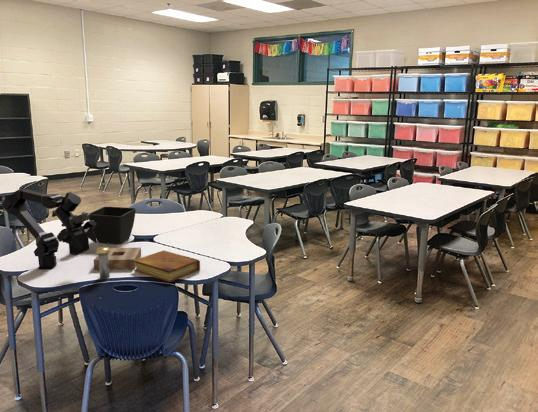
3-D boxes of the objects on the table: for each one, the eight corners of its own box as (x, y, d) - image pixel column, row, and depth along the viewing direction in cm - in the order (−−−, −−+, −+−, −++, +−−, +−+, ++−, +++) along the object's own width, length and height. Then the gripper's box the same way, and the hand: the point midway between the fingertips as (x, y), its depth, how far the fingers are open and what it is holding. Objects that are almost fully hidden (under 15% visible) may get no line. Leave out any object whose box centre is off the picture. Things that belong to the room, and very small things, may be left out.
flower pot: (122, 246, 243) (120, 215, 239) (89, 244, 246) (86, 213, 242) (137, 236, 261) (136, 208, 258) (106, 235, 264) (104, 206, 261)
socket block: (94, 269, 209) (93, 260, 208) (103, 256, 227) (103, 248, 226) (134, 268, 211) (134, 259, 210) (141, 256, 228) (140, 247, 228)
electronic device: (89, 249, 238) (88, 230, 236) (76, 255, 229) (75, 235, 226) (82, 248, 239) (81, 229, 237) (69, 254, 230) (67, 235, 227)
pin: (97, 279, 197) (95, 250, 195) (100, 275, 202) (98, 247, 200) (109, 279, 198) (107, 250, 195) (112, 275, 203) (110, 246, 200)
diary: (200, 271, 211) (200, 259, 210) (169, 283, 196) (169, 270, 195) (165, 260, 224) (164, 249, 222) (134, 271, 209) (133, 259, 207)
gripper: (59, 211, 190) (83, 240, 188) (91, 202, 207) (113, 229, 205) (46, 227, 194) (69, 255, 193) (79, 217, 211) (100, 243, 210)
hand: (89, 245), depth 200 cm, fingers open, 9 cm apart
